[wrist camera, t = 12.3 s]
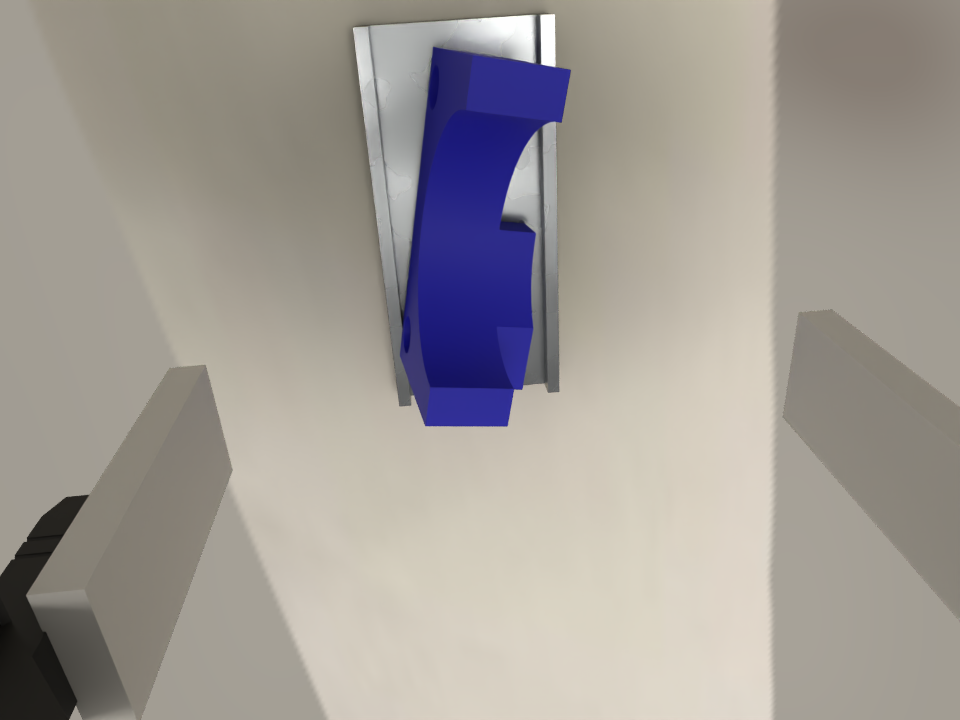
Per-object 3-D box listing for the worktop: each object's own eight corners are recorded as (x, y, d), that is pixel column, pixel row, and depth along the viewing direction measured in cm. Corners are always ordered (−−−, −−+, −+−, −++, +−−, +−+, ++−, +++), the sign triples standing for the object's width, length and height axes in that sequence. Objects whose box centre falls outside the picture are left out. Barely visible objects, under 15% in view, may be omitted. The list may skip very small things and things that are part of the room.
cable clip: (502, 358, 32) (546, 426, 27) (399, 355, 31) (425, 426, 25) (551, 64, 27) (617, 76, 22) (432, 47, 26) (472, 55, 21)
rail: (355, 26, 26) (352, 27, 25) (547, 13, 27) (554, 14, 26) (399, 391, 33) (399, 406, 32) (553, 377, 33) (559, 391, 32)
